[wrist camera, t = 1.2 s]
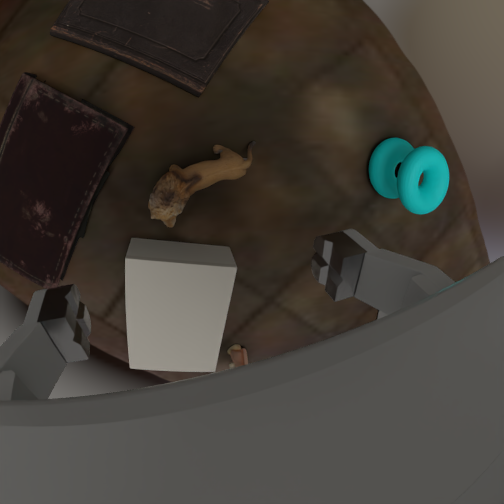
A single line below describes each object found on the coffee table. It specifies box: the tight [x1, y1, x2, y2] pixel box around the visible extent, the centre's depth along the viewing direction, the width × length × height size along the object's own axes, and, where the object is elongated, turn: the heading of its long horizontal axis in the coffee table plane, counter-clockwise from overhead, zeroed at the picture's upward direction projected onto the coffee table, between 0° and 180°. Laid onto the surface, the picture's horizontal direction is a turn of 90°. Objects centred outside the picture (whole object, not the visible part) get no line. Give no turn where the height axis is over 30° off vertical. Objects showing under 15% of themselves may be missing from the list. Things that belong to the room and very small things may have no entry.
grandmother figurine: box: [227, 344, 248, 369], centre depth 47 cm, size 8×4×13 cm, turn 37°
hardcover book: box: [50, 0, 269, 97], centre depth 24 cm, size 16×23×2 cm
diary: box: [0, 72, 135, 289], centre depth 29 cm, size 19×25×5 cm
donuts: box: [369, 138, 449, 214], centre depth 38 cm, size 10×10×10 cm
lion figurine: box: [148, 141, 255, 227], centre depth 32 cm, size 15×5×9 cm, turn 116°
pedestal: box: [125, 238, 237, 372], centre depth 42 cm, size 14×20×6 cm
